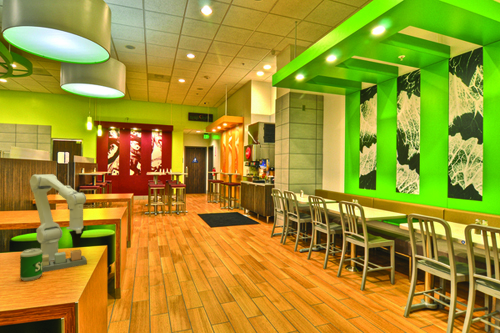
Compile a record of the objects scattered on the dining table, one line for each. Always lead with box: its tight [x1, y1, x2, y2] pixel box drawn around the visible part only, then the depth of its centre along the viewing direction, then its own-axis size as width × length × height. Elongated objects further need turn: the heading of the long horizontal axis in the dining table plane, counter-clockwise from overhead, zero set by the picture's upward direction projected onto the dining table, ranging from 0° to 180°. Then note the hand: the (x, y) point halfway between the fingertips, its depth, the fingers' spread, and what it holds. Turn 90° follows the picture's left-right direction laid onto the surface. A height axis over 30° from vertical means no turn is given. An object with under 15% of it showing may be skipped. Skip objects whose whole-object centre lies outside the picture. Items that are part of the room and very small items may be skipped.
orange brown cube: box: [70, 248, 82, 261], centre depth 137 cm, size 4×4×4 cm
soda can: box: [19, 247, 43, 282], centre depth 119 cm, size 8×8×12 cm
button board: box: [42, 255, 88, 273], centre depth 133 cm, size 8×21×2 cm, turn 130°
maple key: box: [43, 255, 49, 266], centre depth 129 cm, size 4×4×4 cm
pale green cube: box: [54, 251, 67, 264], centre depth 133 cm, size 4×4×4 cm
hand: (76, 245), depth 137 cm, fingers closed
